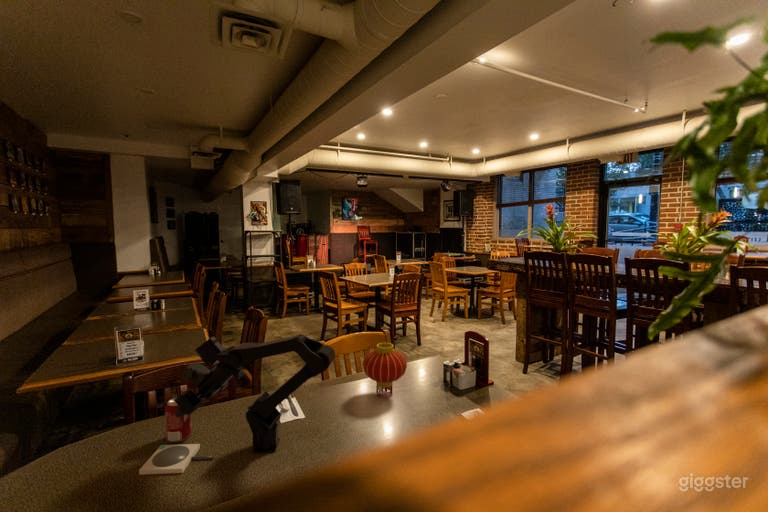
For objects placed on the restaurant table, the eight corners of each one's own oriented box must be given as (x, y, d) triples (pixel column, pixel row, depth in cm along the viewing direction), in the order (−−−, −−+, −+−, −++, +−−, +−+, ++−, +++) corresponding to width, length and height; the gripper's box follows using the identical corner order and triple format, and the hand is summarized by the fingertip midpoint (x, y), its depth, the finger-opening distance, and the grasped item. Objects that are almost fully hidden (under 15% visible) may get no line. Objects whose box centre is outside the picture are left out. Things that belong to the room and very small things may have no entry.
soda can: (180, 445, 109) (178, 407, 108) (161, 442, 110) (159, 404, 109) (196, 433, 115) (195, 396, 114) (177, 430, 117) (176, 394, 115)
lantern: (407, 406, 134) (409, 326, 132) (360, 405, 134) (361, 326, 132) (405, 385, 151) (406, 315, 148) (363, 384, 151) (364, 314, 149)
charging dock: (220, 446, 108) (220, 442, 108) (205, 471, 97) (205, 466, 97) (161, 448, 107) (161, 444, 107) (139, 474, 96) (139, 469, 96)
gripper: (219, 345, 118) (189, 376, 121) (180, 368, 100) (145, 403, 102) (242, 371, 118) (211, 400, 120) (207, 397, 100) (171, 432, 102)
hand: (186, 407), depth 111 cm, fingers open, 9 cm apart
